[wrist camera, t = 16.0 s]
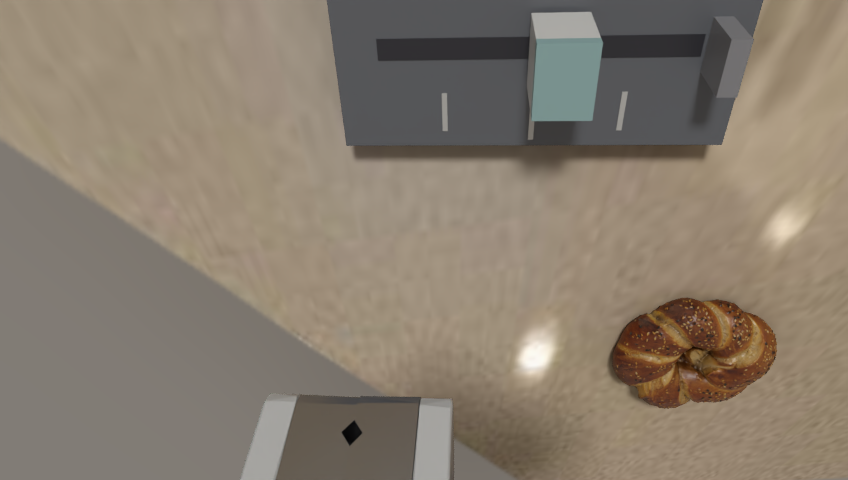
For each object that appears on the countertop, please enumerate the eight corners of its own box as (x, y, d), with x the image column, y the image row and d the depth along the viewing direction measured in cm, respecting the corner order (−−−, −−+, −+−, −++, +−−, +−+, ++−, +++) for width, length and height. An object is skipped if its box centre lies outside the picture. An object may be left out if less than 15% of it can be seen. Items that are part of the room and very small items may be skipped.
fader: (526, 85, 35) (531, 121, 32) (531, 12, 33) (536, 43, 30) (582, 85, 35) (592, 120, 32) (591, 11, 33) (602, 42, 29)
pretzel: (775, 279, 46) (794, 316, 43) (764, 375, 53) (780, 413, 50) (604, 300, 49) (612, 337, 46) (614, 389, 55) (621, 426, 52)
